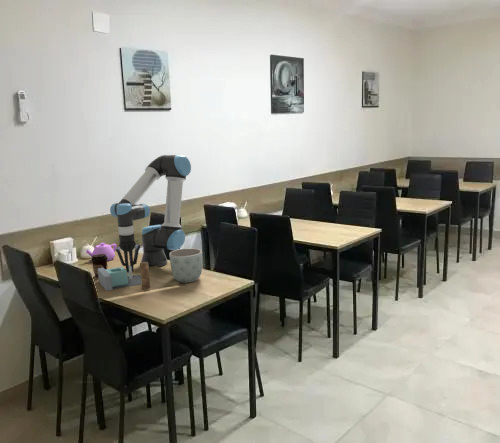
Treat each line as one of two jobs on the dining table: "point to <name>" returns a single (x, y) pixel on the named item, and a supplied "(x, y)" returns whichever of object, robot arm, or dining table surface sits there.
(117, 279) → the block
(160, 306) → the dining table surface
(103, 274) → the jig
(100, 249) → the teapot
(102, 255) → the coffee cup
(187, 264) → the planter
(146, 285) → the dowel
